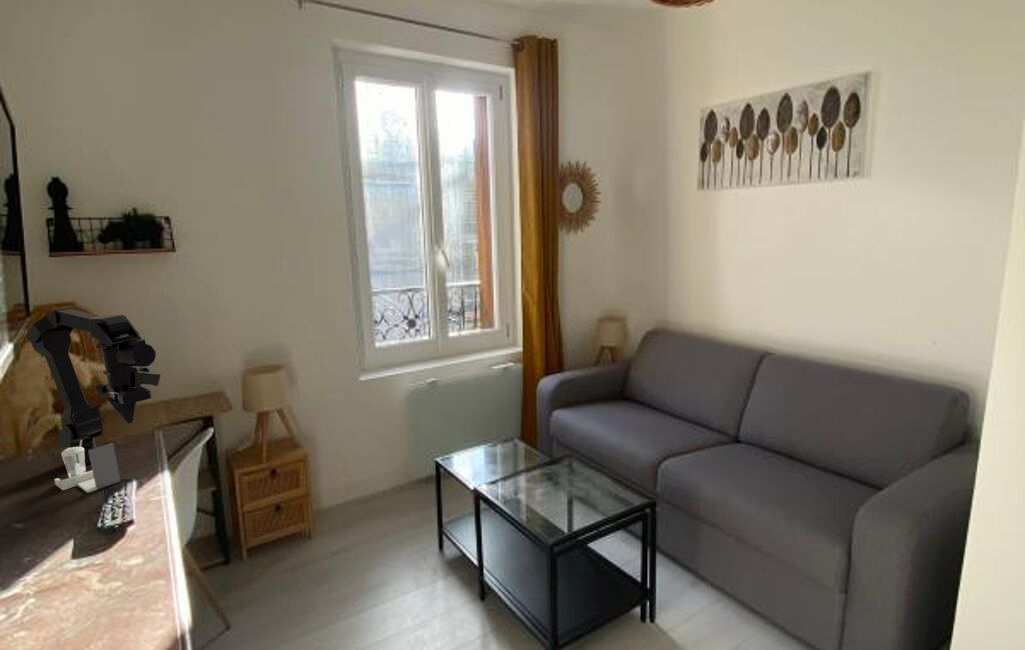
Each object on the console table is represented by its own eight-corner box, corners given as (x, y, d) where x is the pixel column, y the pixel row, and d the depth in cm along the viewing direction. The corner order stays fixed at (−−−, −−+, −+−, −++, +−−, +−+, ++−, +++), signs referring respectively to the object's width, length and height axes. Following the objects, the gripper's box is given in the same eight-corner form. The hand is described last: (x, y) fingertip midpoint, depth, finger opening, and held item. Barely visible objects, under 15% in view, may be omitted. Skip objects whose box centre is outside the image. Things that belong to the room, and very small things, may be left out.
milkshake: (97, 475, 144) (89, 439, 142) (80, 485, 138) (72, 447, 137) (80, 476, 144) (73, 440, 142) (63, 485, 139) (55, 448, 137)
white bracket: (55, 484, 139) (47, 447, 137) (102, 469, 147) (95, 433, 145) (72, 498, 131) (63, 458, 130) (120, 481, 139) (113, 443, 137)
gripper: (168, 361, 142) (178, 419, 145) (139, 354, 153) (149, 408, 156) (118, 372, 133) (129, 433, 136) (91, 363, 144) (103, 420, 147)
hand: (129, 422), depth 144 cm, fingers closed
